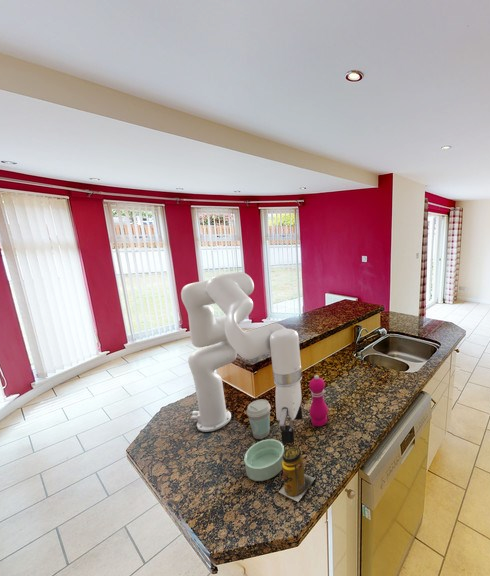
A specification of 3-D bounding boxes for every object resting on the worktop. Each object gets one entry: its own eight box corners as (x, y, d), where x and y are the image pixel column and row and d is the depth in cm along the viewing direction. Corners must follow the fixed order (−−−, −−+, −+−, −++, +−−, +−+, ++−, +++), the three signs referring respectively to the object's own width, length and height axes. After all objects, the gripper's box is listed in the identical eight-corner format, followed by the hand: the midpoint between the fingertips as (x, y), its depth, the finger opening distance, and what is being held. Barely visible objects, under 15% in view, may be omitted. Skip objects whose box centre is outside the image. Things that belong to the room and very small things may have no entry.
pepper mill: (325, 428, 108) (322, 380, 104) (307, 426, 109) (304, 379, 105) (330, 416, 115) (328, 371, 111) (313, 414, 116) (310, 370, 112)
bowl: (239, 482, 85) (237, 468, 84) (254, 451, 97) (253, 439, 96) (278, 482, 85) (277, 468, 84) (289, 451, 97) (288, 439, 96)
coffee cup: (249, 429, 109) (245, 401, 106) (272, 423, 111) (269, 396, 109) (249, 444, 101) (246, 414, 98) (274, 437, 104) (271, 408, 101)
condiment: (278, 492, 82) (274, 456, 79) (296, 470, 89) (293, 437, 87) (298, 502, 78) (294, 465, 76) (315, 479, 86) (313, 444, 83)
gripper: (283, 360, 85) (288, 411, 88) (263, 392, 68) (270, 453, 71) (307, 360, 85) (311, 411, 88) (293, 391, 68) (299, 453, 71)
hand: (293, 430), depth 80 cm, fingers open, 9 cm apart
